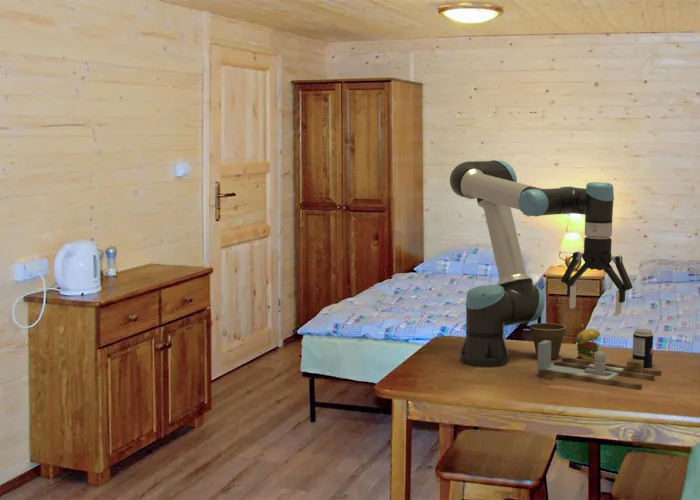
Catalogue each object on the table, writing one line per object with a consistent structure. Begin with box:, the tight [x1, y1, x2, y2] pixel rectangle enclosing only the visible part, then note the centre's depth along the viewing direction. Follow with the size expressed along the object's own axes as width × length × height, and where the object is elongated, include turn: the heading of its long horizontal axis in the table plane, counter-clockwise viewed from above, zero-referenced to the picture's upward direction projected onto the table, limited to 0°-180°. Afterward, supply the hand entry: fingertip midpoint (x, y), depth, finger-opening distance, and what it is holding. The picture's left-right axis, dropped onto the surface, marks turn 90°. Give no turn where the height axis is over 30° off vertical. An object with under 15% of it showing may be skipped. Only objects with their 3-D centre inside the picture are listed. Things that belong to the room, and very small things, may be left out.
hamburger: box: [575, 323, 601, 361], centre depth 281 cm, size 8×7×12 cm
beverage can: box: [631, 328, 654, 369], centre depth 271 cm, size 6×6×12 cm
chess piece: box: [594, 350, 607, 376], centre depth 259 cm, size 5×5×9 cm
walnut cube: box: [626, 358, 644, 373], centre depth 262 cm, size 4×4×4 cm
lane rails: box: [537, 356, 662, 391], centre depth 263 cm, size 30×18×3 cm, turn 54°
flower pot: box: [529, 322, 567, 360], centre depth 288 cm, size 12×11×10 cm
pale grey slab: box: [534, 340, 620, 380], centre depth 263 cm, size 22×9×9 cm, turn 54°
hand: (595, 310), depth 260 cm, fingers open, 13 cm apart
